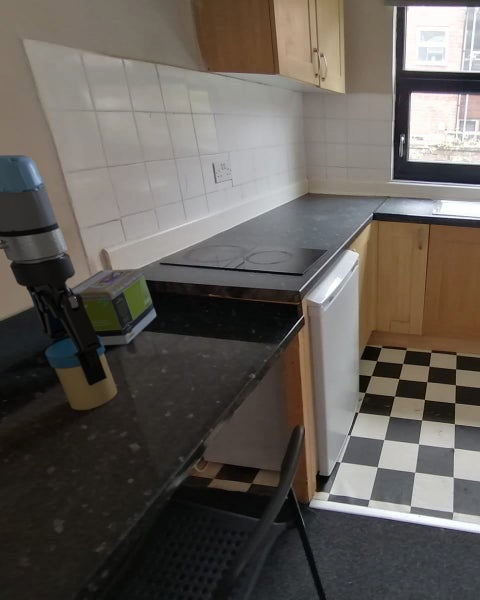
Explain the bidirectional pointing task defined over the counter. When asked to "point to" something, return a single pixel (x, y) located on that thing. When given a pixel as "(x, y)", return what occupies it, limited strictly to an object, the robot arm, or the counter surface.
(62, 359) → the jar lid
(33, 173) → the robot arm
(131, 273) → the tea box
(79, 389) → the jam jar
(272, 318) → the counter surface
